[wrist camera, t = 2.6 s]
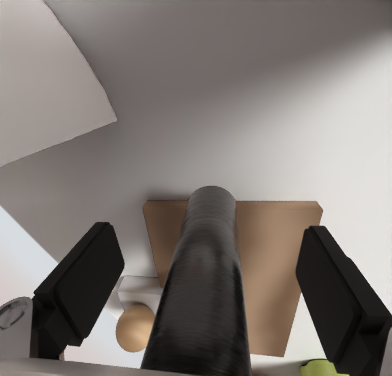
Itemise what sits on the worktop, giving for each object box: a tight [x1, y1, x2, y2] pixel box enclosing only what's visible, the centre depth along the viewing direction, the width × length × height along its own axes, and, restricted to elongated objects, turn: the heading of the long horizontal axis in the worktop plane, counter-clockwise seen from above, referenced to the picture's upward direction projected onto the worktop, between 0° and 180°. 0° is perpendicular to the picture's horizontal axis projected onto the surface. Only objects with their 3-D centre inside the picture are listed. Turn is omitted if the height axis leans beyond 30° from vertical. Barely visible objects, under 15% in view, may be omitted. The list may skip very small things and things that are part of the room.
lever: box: [140, 186, 252, 376], centre depth 13 cm, size 20×5×10 cm, turn 4°
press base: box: [116, 200, 323, 357], centre depth 20 cm, size 19×22×6 cm
